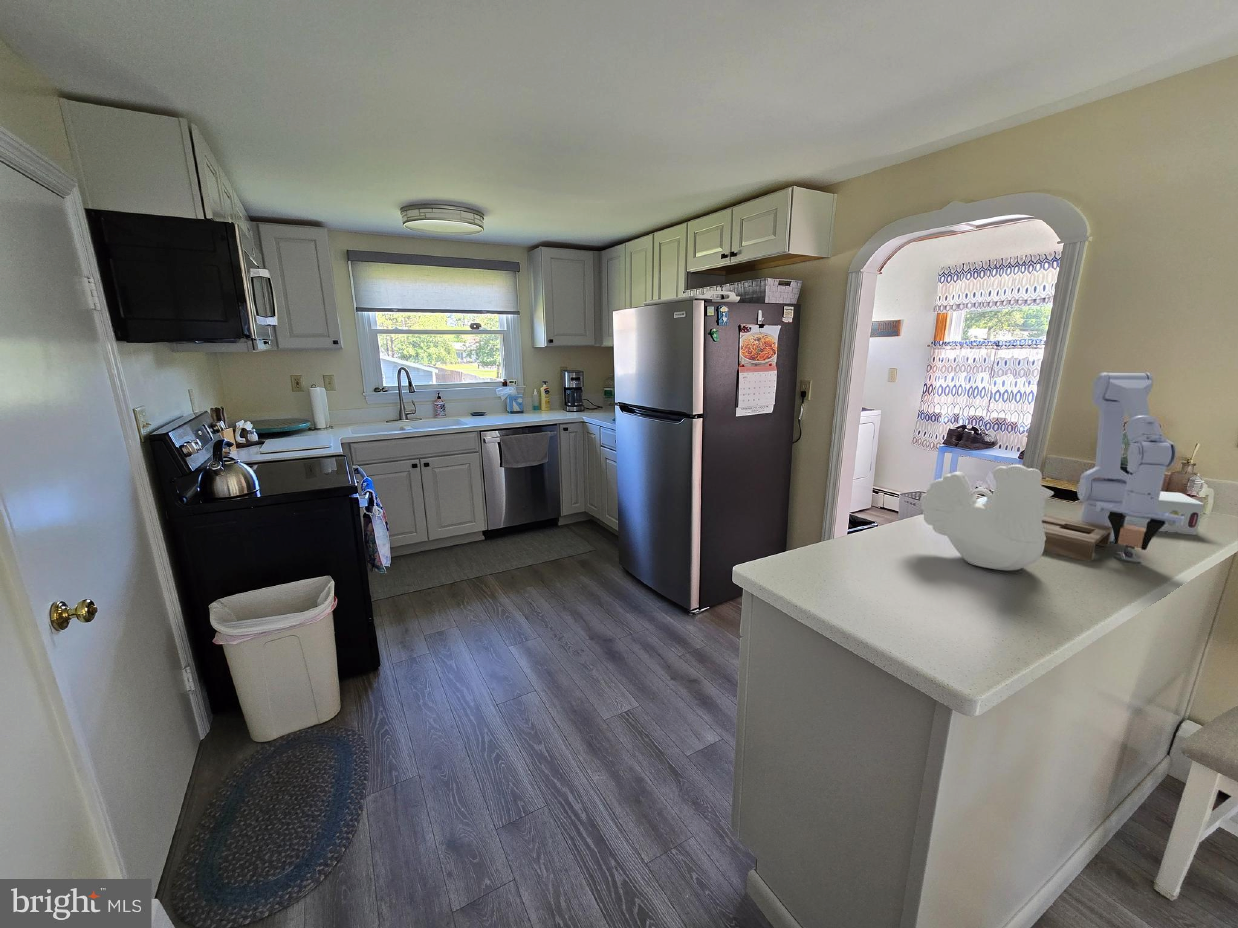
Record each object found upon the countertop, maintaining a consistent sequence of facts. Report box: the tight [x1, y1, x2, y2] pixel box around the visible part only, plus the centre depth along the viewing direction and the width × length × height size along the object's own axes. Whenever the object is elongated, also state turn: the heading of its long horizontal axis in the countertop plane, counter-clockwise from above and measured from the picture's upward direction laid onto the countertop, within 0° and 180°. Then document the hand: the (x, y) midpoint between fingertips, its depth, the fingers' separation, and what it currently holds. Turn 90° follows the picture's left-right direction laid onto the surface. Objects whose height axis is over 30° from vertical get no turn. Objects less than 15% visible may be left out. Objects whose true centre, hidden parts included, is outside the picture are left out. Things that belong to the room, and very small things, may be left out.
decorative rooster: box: [919, 464, 1055, 571], centre depth 119 cm, size 25×16×25 cm, turn 29°
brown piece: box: [1114, 524, 1146, 564], centre depth 120 cm, size 4×4×8 cm
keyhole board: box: [1042, 513, 1112, 562], centre depth 131 cm, size 18×16×5 cm
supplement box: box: [1124, 490, 1205, 536], centre depth 145 cm, size 17×13×9 cm
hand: (1130, 546), depth 120 cm, fingers closed on brown piece, 4 cm apart
